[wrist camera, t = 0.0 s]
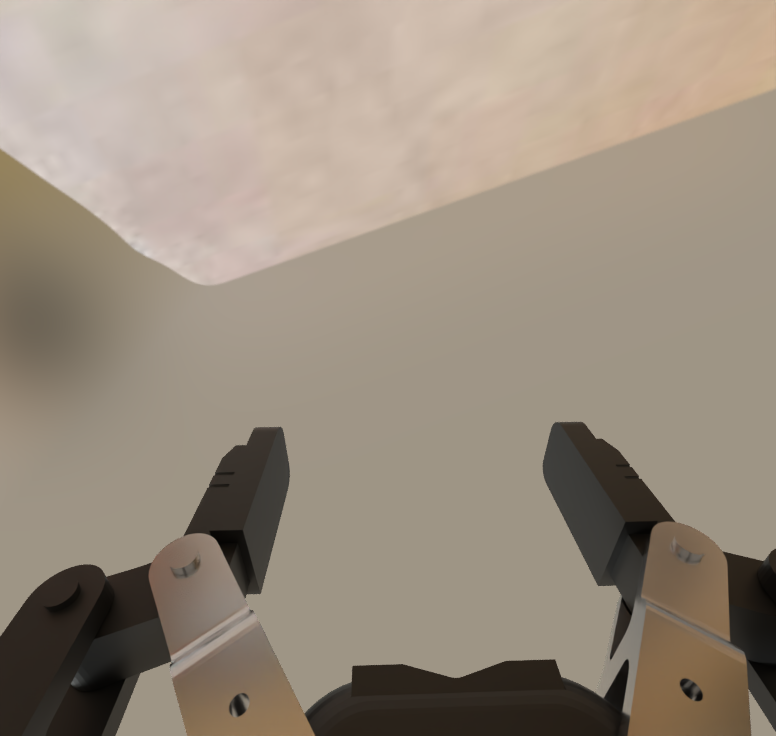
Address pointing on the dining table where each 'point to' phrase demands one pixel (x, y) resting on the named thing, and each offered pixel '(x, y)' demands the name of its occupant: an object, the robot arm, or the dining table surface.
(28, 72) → the dining table surface
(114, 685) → the robot arm
